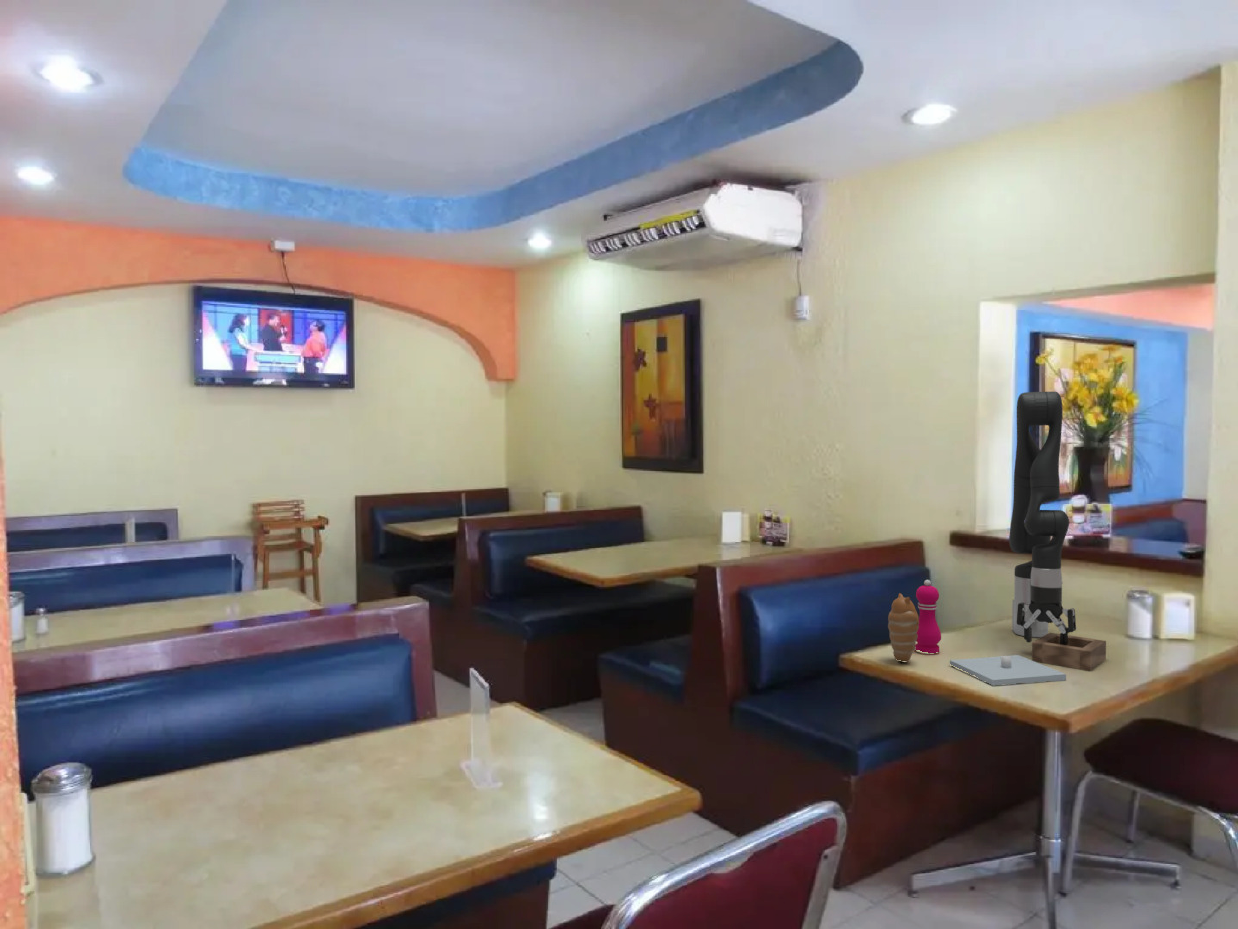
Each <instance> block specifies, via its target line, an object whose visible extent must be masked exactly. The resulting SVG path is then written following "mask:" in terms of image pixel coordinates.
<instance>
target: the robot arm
mask: <svg viewBox="0 0 1238 929" xmlns="http://www.w3.org/2000/svg"><path fill="white" fill-rule="evenodd" d="M1063 408H1064V407H1063V399H1062V396H1061V395H1060V393H1059V392H1057V391H1028V392H1022V393H1020V394H1019V396H1018V397H1017V401H1016V451H1015V460H1014V461H1015V462H1014V472H1013V473H1014V475H1013V504H1012V513H1011V521H1010V528H1009V535H1008V536H1009V538H1008V541H1009V542H1008V543H1009V548H1010V550H1011V551H1012V552H1013V553H1017V554H1026V555H1027V554H1028V555H1029V554H1031V560H1029V561H1027V562H1025V563H1021V564H1018V565H1016V566H1015V567H1014V585H1013V586H1014V595H1013V596H1014V599H1012V603H1011V604H1012V607H1011V608H1012V609H1011V610H1012V616H1011V617H1012V618H1011V619H1012V620H1011V624H1012V625H1011V627H1012V628H1011V631H1013V633H1014V634H1016V635H1018V636H1022V637H1023V638H1024V640H1025V641H1026V643H1031V642H1033V641H1032V640H1033V639H1032V638H1041V637H1043V636H1044V635H1046V634H1048V633H1049V624H1054V626H1056V628H1058V630H1059V632H1060V633H1059V634H1060V644H1061V645H1067V644H1068V635H1069V634H1070V633H1073V632H1076V631H1077V625H1076V624H1077V622H1076V609H1075V608H1073V607H1071V608H1064V607H1063V606H1062V604H1063V600H1062V599H1063V575H1062V551H1063V546H1064V542H1065V538H1066V536H1067V533H1068V530H1069V526H1070V518H1069V516H1068V514H1067V513H1066V512H1065V511H1063V510H1060V509H1041V506H1042V504H1044V503H1050V502H1054V501H1057V500H1059V498H1060V496H1061V491H1060V489H1061V488H1060V465H1059V464H1060V452H1061V441H1062V429H1063V428H1062V426H1063ZM1031 426H1033V427H1035V426H1036V427H1037V426H1048V433H1047V438H1046V440H1045V442H1044V444H1043V446H1042V447H1041V449H1040V447H1039V446H1038V444H1037V443H1036V441H1035V439H1034V438H1033V436H1032V433H1031V432H1030V431H1031V430H1030V428H1031ZM1062 614H1064V616H1065V617H1066V618H1067V625H1066V624H1065V621H1064V620H1063V619H1062V617H1061V616H1062Z"/></svg>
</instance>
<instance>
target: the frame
mask: <svg viewBox="0 0 1238 929" xmlns="http://www.w3.org/2000/svg"><path fill="white" fill-rule="evenodd" d="M1031 642H1032V643H1031V646H1032V648H1031V650H1032V651H1031V652H1032V653H1031V660H1032V661H1034V662H1037V663H1039V664H1046V665H1052V666H1059V667H1065V668H1068V669H1075V670H1076V669H1077V670H1081V669H1084V670H1083V671H1087V670H1089V671H1088V672H1091V671H1093V669H1096V667H1098V666H1100V663H1101V662H1102V663H1103V662H1104V660H1105V659H1106V660H1107V640H1103V639H1095V638H1088V637H1081V636H1075V635H1069V634H1068V644H1067V645H1061V644H1060V633H1054V632H1048V634H1046V635H1044V636H1043V637H1038V639H1036V640H1034V641H1031ZM1106 660H1105V661H1106ZM1102 663H1101V664H1102ZM1097 665H1098V666H1097Z"/></svg>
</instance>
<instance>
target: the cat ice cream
mask: <svg viewBox="0 0 1238 929" xmlns="http://www.w3.org/2000/svg"><path fill="white" fill-rule="evenodd" d="M887 618H888V619H887V621H888V623H887V628H888V630H889V636H888V637H889V640H890V646H891V648H892V650H893V651H892V653H893V656H894V659H895V660H896V659H897V660H901V661H907V662H909V661H910V660H911V657H912V656H913V652H914V650H915V645H916V644H917V641H916V640H917V637H918V635H917V631H918V629H919V626H918V624H919V614H918V612H917V609H916V605H915V604H914V603H913V601H912V600H911V598H910V597H909V596H907V597H904V596H903V594H902V593H900V592H899V593H898V596H897V598H895V599H894V600H893V601H892V603H891V610H890V611H889V613H888V616H887ZM897 660H896V661H897Z"/></svg>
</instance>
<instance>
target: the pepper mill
mask: <svg viewBox="0 0 1238 929" xmlns="http://www.w3.org/2000/svg"><path fill="white" fill-rule="evenodd" d="M923 584H924V585H921V586H919V587H918V588H917V589H916V593H915V597H916V599H917V601H918V602H917V608H918V609H919V614H918V617H919V624H918V626H919V629H918V631H917V635H918V637H917V640H916V645H915V648H914V650H915V649H916V650H920V651H922V652H928V653H936V652H939V653H940V646H939V645H938V643H940V642H941V640H942V633H941V629H940V627H939V625H938V622H937V619H936V618H937V617H936V610H937V609H938V603H937V602H938V601H939V599H940V593H939V590H938V589H937V588H936V587H935V586H933V585H931V584H932V582H931V580H930V579H926V580H924V582H923Z"/></svg>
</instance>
